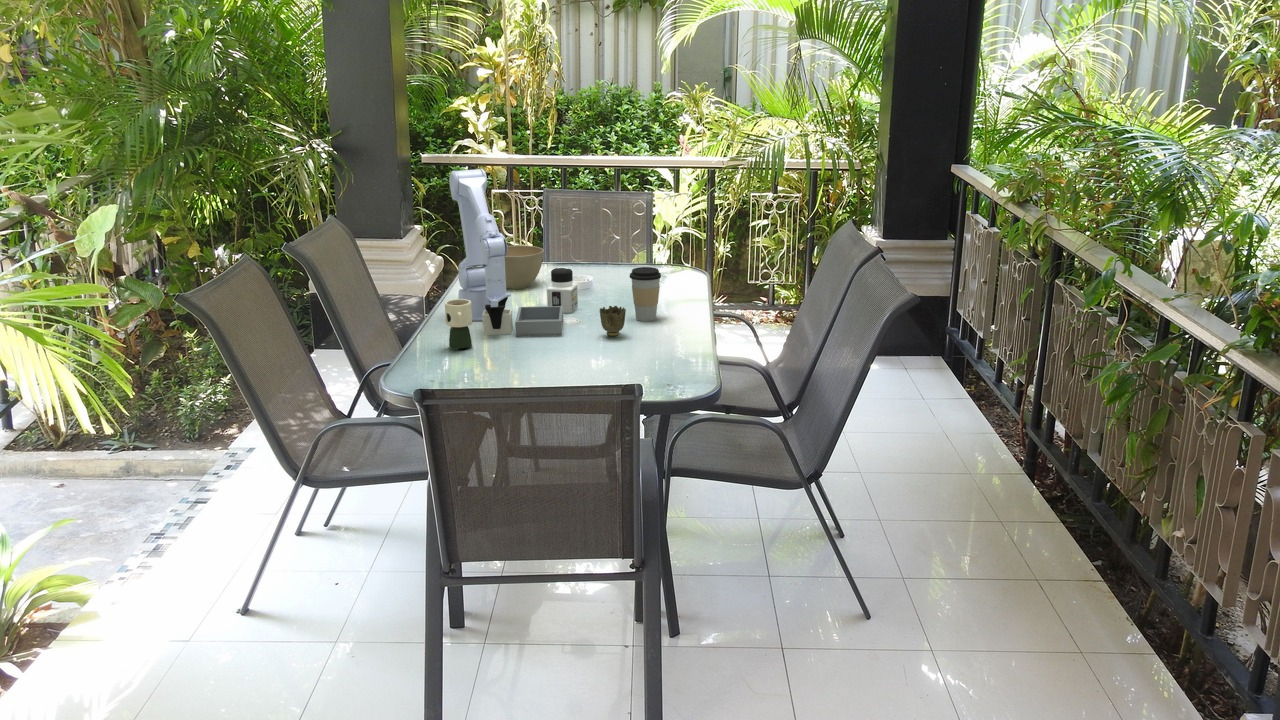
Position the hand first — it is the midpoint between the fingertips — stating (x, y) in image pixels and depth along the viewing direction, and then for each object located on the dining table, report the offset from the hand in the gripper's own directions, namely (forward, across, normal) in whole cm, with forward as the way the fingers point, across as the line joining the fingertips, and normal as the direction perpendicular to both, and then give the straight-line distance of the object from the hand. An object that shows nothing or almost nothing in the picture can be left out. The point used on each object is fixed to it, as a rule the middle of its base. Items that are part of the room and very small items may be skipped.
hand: (497, 325), depth 307 cm
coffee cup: (+2, +10, -43) cm, 44 cm away
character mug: (+2, -15, +9) cm, 18 cm away
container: (+2, +22, -18) cm, 29 cm away
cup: (+2, -7, -33) cm, 34 cm away
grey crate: (+2, +2, -12) cm, 12 cm away
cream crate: (+2, 0, 0) cm, 2 cm away
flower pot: (+2, +53, -2) cm, 53 cm away
